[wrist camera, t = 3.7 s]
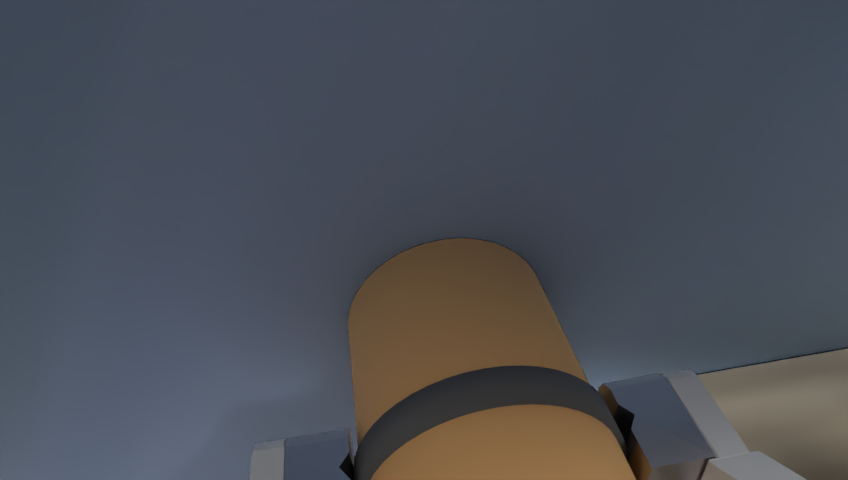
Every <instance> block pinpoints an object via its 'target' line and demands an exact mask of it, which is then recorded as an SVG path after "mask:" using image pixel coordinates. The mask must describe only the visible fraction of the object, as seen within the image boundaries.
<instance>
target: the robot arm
mask: <svg viewBox="0 0 848 480" xmlns="http://www.w3.org/2000/svg"><path fill="white" fill-rule="evenodd" d="M598 392H599V393H600V394H601V396H602V397H603V399H604V401H605V402H606V404H607V406H608V408H609V410H610V412H611V414H612V416H613V418H614V420H615V422H616V424H617V426H618V428H619V430H620V432H621V434H622V436H623V439H624V441H625V444H626V453H627V454H626V460H627V462H628V464H629V466H630V468H631V470H632V472H633V474H634V476H635V478H636V480H806V479H805V478H803V477H802V476H800V475H798V474H797V473H795V472H793V471H792V470H790V469H788V468H787V467H785V466H784V465H782V464H780V463H779V462H777V461H775V460H774V459H772V458H771V457H769V456H767V455H766V454H764V453H762V452H761V451H759V450H757V451H749V450H748V448H747V447H746V445H745V444H744V442H743V441H742V439H741V438H740V437H739V435H738V434H737V432H736V431H735V429H734V428H733V426H732V425H731V424H730V422H729V421H728V419H727V418H726V416H725V415H724V414H723V412H722V411H721V409H720V408H719V406H718V405H717V403H716V402H715V401H714V399H713V398H712V396H711V395H710V393H709V392H708V390H707V389H706V388H705V386H704V385H703V383H702V382H701V380H700V379H699V378H698V376H697V375H696V373H694V372H693V371H691V370H690V369H682V370H677V371H672V372H667V373H662V374H657V373H656V374H650V375H645V376H640V377H635V378H629V379H624V380H619V381H614V382H608V383H603V384H602V385H601V386H600V387H599V390H598ZM354 458H355V456H354V455H353V444H352V438H351V434H350V430H349V429H343V430H337V431H330V432H324V433H318V434H311V435H305V436H298V437H292V438H284V439H278V440H272V441H267V442H261V443H255V444H254V447H253V451H252V454H251V463H250V475H249V480H354Z"/></svg>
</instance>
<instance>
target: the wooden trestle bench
mask: <svg viewBox="0 0 848 480" xmlns="http://www.w3.org/2000/svg"><path fill="white" fill-rule="evenodd" d="M697 376H698V378H699V379H700V380H701V382H702V383H703V385H704V386H705V388H706V389H707V390H708V392H709V393H710V395H711V396H712V398H713V399H714V401H715V402H716V403H717V405H718V406H719V408H720V409H721V411H722V412H723V414H724V415H725V416H726V418H727V419H728V421H729V422H730V424H731V425H732V426H733V428H734V429H735V431H736V432H737V434H738V435H739V437H740V438H741V439H742V441H743V442H744V444H745V445H746V447H747V448H748V450H749V451H757V450H759V451H761V452H762V453H764V454H766V455H767V456H769V457H771V458H772V459H774V460H775V461H777V462H779V463H780V464H782V465H784V466H785V467H787V468H788V469H790V470H792V471H793V472H795V473H797V474H798V475H800V476H802V477H803V478H805V479H806V480H848V349H842V350H836V351H831V352H825V353H819V354H813V355H808V356H802V357H796V358H791V359H785V360H779V361H773V362H768V363H762V364H756V365H751V366H745V367H739V368H733V369H728V370H722V371H716V372H711V373H705V374H699V375H697Z"/></svg>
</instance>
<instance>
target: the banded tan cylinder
mask: <svg viewBox="0 0 848 480" xmlns="http://www.w3.org/2000/svg"><path fill="white" fill-rule="evenodd" d="M348 332H349V344H350V357H351V369H352V381H353V393H354V405H355V417H356V429H357V441H358V449H357V452H356V455H355V458H354V480H636V478H635V476H634V474H633V472H632V470H631V468H630V466H629V464H628V462H627V460H626V454H627V453H626V444H625V441H624V439H623V436H622V434H621V432H620V430H619V428H618V426H617V424H616V422H615V420H614V418H613V416H612V414H611V412H610V410H609V408H608V406H607V404H606V402H605V401H604V399H603V397H602V396H601V394H600V393H599V392H598V391H597V390H596V389H595V388H594V387H593V386H591V385H590V384H589V382H588V380H587V378H586V376H585V374H584V372H583V369H582V367H581V365H580V363H579V361H578V359H577V357H576V355H575V353H574V351H573V349H572V347H571V345H570V343H569V341H568V339H567V337H566V335H565V333H564V331H563V329H562V326H561V324H560V322H559V320H558V318H557V316H556V314H555V312H554V310H553V308H552V306H551V304H550V302H549V300H548V298H547V296H546V294H545V292H544V290H543V288H542V286H541V283H540V281H539V279H538V277H537V275H536V274H535V272H534V271H533V269H532V267H531V266H530V265H529V264H528V263H527V262H526V261H525V260H524V259H523V258H522V257H521V256H519V255H518V254H517V253H515V252H513V251H512V250H510V249H508V248H506V247H504V246H501V245H499V244H496V243H493V242H489V241H485V240H478V239H470V238H454V239H444V240H438V241H433V242H428V243H425V244H422V245H419V246H416V247H413V248H411V249H408V250H406V251H404V252H402V253H400V254H398V255H396V256H394V257H393V258H391V259H389V260H388V261H387V262H385V263H384V264H382V265H381V266H380V267H378V268H377V269H376V270H375V271H374V272H373V273H372V274H371V275H370V276H369V277H368V278H367V279H366V280H365V282H364V283H363V284H362V285H361V287H360V288H359V290H358V292H357V293H356V295H355V297H354V299H353V302H352V304H351V307H350V311H349V316H348Z"/></svg>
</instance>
